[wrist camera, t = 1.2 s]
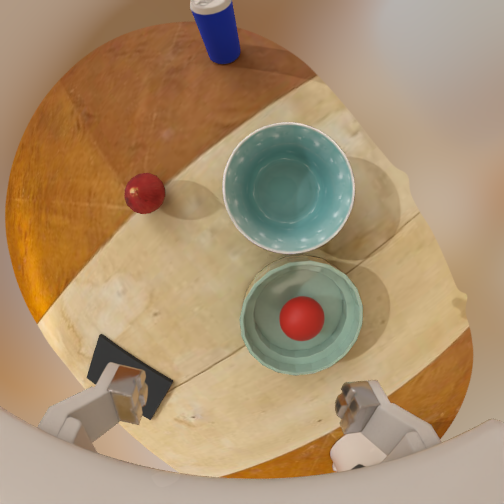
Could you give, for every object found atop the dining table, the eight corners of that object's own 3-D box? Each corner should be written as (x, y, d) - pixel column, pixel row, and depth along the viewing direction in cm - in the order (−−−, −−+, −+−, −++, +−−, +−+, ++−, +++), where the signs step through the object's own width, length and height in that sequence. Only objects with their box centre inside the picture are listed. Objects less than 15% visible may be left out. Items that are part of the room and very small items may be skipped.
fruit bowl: (371, 289, 40) (384, 299, 35) (312, 371, 43) (317, 390, 37) (280, 233, 40) (283, 236, 34) (223, 326, 42) (218, 342, 37)
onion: (145, 219, 40) (121, 221, 32) (133, 186, 40) (107, 182, 32) (177, 203, 40) (157, 201, 32) (163, 169, 39) (142, 161, 31)
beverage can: (223, 39, 35) (208, -18, 20) (247, 51, 36) (239, -8, 21) (203, 58, 36) (179, 3, 21) (227, 70, 36) (210, 14, 21)
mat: (173, 380, 44) (172, 383, 43) (151, 417, 46) (150, 420, 45) (101, 333, 44) (99, 335, 43) (88, 376, 45) (86, 377, 45)
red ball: (327, 303, 40) (338, 318, 34) (304, 336, 41) (311, 356, 35) (292, 283, 40) (297, 295, 34) (270, 318, 41) (271, 335, 35)
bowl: (259, 263, 40) (258, 276, 32) (213, 167, 39) (200, 156, 30) (354, 218, 39) (375, 220, 31) (308, 124, 37) (318, 104, 29)
